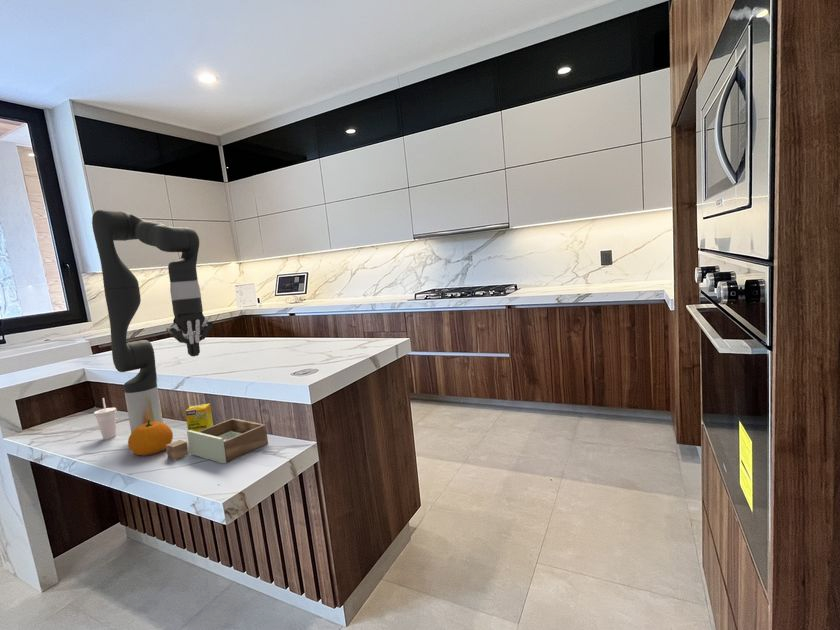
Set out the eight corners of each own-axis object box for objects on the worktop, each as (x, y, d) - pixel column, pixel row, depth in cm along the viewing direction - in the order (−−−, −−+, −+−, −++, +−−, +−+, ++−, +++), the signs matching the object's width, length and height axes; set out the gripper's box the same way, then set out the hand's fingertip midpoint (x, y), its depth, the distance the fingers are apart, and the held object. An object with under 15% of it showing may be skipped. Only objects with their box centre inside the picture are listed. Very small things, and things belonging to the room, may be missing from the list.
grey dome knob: (227, 442, 130) (226, 434, 129) (238, 445, 126) (237, 437, 126) (208, 449, 125) (206, 442, 124) (218, 453, 121) (217, 445, 121)
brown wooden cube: (167, 457, 125) (165, 445, 124) (181, 452, 128) (179, 439, 128) (175, 460, 123) (173, 447, 122) (188, 454, 126) (186, 441, 125)
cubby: (194, 453, 127) (191, 433, 126) (235, 435, 138) (232, 418, 137) (227, 462, 118) (224, 442, 117) (268, 443, 129) (265, 424, 128)
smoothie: (121, 432, 152) (115, 394, 150) (120, 437, 147) (113, 398, 145) (99, 437, 149) (92, 398, 147) (97, 442, 143) (90, 402, 142)
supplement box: (189, 444, 134) (184, 411, 133) (195, 437, 140) (190, 405, 139) (209, 441, 135) (204, 408, 134) (214, 434, 141) (210, 402, 140)
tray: (190, 453, 126) (186, 431, 125) (229, 437, 136) (226, 416, 136) (223, 463, 117) (220, 439, 116) (262, 445, 127) (259, 422, 127)
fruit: (157, 441, 139) (152, 412, 138) (183, 444, 135) (178, 414, 134) (121, 457, 128) (115, 425, 127) (148, 461, 124) (142, 428, 123)
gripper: (201, 295, 130) (209, 350, 132) (155, 299, 119) (164, 360, 121) (215, 294, 125) (222, 351, 127) (169, 299, 114) (178, 361, 116)
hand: (194, 355), depth 124 cm, fingers closed
